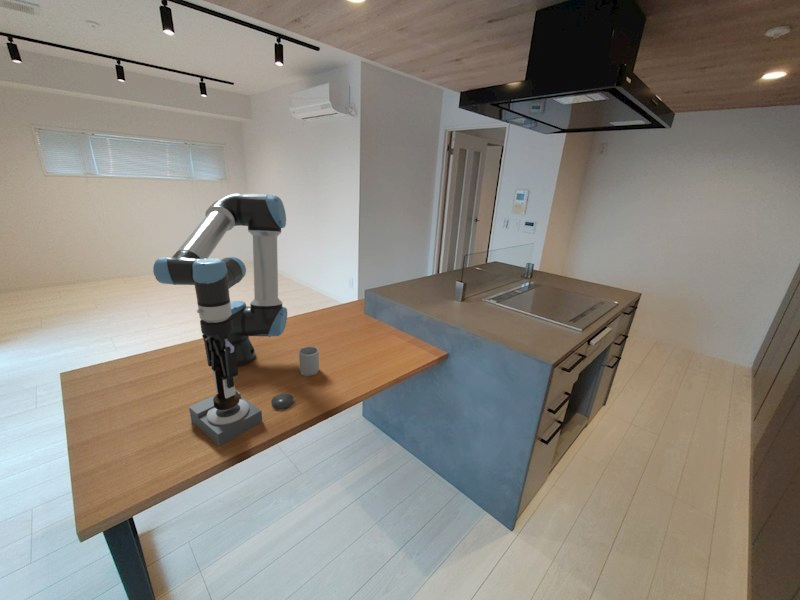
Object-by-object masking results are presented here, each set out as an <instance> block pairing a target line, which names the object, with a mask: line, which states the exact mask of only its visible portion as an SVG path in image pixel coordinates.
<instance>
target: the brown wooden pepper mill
mask: <svg viewBox="0 0 800 600" xmlns="http://www.w3.org/2000/svg"><path fill="white" fill-rule="evenodd" d="M215 356H216V357H217V358H218V359H219V362H218V363H217V364H218V366H219V368H218V369H216V370H215V374H216V381H217V389H218V392H217V395H216V394H215V395H216V396H215V397H214V399H213V402H214V407H215V408H216V409H218V410H227V409H230V408H233V407H235V406H236V405H237V404H238V403H239V394H238V392H239V391H238V390H236V391H235V393H236V394H235V395H233V396H231V397H229V398H227V399H226V398H225V394H224V387H223V380H222V377H224V374H223V370H222V366H221V362H220V357H219V355H217V353H216V350H215ZM237 391H238V392H237Z"/></svg>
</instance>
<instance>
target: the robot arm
mask: <svg viewBox="0 0 800 600" xmlns="http://www.w3.org/2000/svg"><path fill="white" fill-rule="evenodd" d="M286 225H287V215H286V208H285V206H284V203H283V201H282V199H281V198H280V197H279V196H278V195H271V194H261V193H259V194H258V193H257V194H256V193H239V192H236V193H230V194H228V195H226V196H223V197H221V198H220V199H218V200H216V201H215V202H213V203H212V204H211V205H210V206H209V207H208V208H207V209H206V211H205V217H204V218H203V219H202V221H201V222H200V223H199V224H198V226H196V228H195V229H194V230H193V232H192V233H191V234H190V235H189V237H188V238H187V239H186V240H185V241H184V242H183V243H182V245H181V246H179V248H178V249H177V251H176V252H175V253H174V254H173V255H172V256H166V257H160V258H159V257H158V258H157V259H156V260H155V262H154V264H153V267H152V268H153V271H152V273H153V276H154V277H155V279H156V281H157V282H158V283H160V284H162V285H174V286H177V285H178V286H181V285H182V286H194V289H195V290H194V291H195V296H196V302H197V303H196V304H197V310H196V312H197V314H198V316H199V319H200V320H199V323H200V324H199V325H200V331H201V335H202V339H203V342H204V349H205V354H206V360H207V364H208V367H210V368H211V371H213V378H214V386H215V392H217V393H218V389H217V381H216V374H215V370H216V369H218V368H219V366H218V364H217V363H218V362H219V359H218V358H217V357H216V356H215V350H216V353H217V355H219V357H220V362H221V366H222V370H223V374H224V377H222V380H223V387H224V394H225V398H226V399H227V398H229V397H231V396H233V395H235V394H236V393H235V390H236V386H235V377H237V376H239V370H238V367H240V366H243V365H246V364H248V363H250V362H251V361H253V360H254V359H255V357H256V349H255V348H254V346H253V344H252V342H251V340H250V337H269V338H271V337H280V336H281V335H282V334H283V333H284V331H285V328H286V326H287V320H288V309H287V307H285V306H283V301H281V299H280V298H279V280H278V279H279V276H278V275H279V271H278V269H279V268H278V236H279V235H280V234H281V233H282V229H284V228H286ZM237 226H243V227H247V231H248V233H250V234H251V236H252V254H253V258H252V259H253V287H254V288H253V290H254V299H252V301H251V302H250V306H247V304H246V302H245V301H242V300H233V301H232V300H231V298H230V289H231V288H232V287H234V286H235V285H237V284H238V283H240V282H241V281H242V280H243V278H245V276H246V274H247V268H246V265H245V263H244V261H242V260H241V259H240V258H238V257H236V256H235V257H234V256H228V257H224V258H222V259H221V258H214V257H213V258H212V257H211V258H210V256H211V255H212V253H213V251H214V250H215V249H216V247H217V246H218V244H219V243H220V242H221V240H222V238H223V237H224V235H225V234H226V233H227V232H228V231H231V230H232V229H234V227H237Z"/></svg>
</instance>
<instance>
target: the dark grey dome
mask: <svg viewBox="0 0 800 600" xmlns="http://www.w3.org/2000/svg"><path fill="white" fill-rule="evenodd" d="M294 398H295V397H294V395H292V394H291V393H284V392H283V393H279V394H276V395H275V396H273V397H272V398H271V400H270V402H271V403H270V404H271V407H272V408H273V409H275V410H280V411H281V410H287V409H289V408H290V407H292V406H293V405H294V403H295V400H294Z"/></svg>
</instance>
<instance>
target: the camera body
mask: <svg viewBox="0 0 800 600" xmlns="http://www.w3.org/2000/svg"><path fill="white" fill-rule="evenodd" d="M235 391H237V392H238V394H239V403H238V404H237V405H236V406H235V407H233V408H230V409H227V410H218V409H216V408H215V407H214V402H213V399H214V397H215V396H216V395H217V394H218V393H217V394H214V395H211V396H210V397H208V398H206V399H203V400H201V401H199V402H196V403H195V404H192V405H190V406H189V407H188V408H189V409H188V410H189V414H190V421H191V423H192V424H194V425H195V426H196V427H197V428H198V429H200V431H201V432H203V433H204V434H205V435H206V436H208V438H210V439H211V440H212V441H213V442H215V444H217V446H219V447H221V446H223V445H225V444H226V443H228V442H229V441H232V440H233V439H235V438H236V437H238V436H240V435H242V434H243V433H245V432H247V431H248V430H249V431H250V429H253V427H256V426H257V425H259V424H261V423H262V422H263V413H262V410H261V409H260V408H259V407H257V406H255V405H254V404H253V403H251V402H250V401H249V400H247V399H245V397H242V396H241V392H239V391H238V390H236V389H235Z"/></svg>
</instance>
